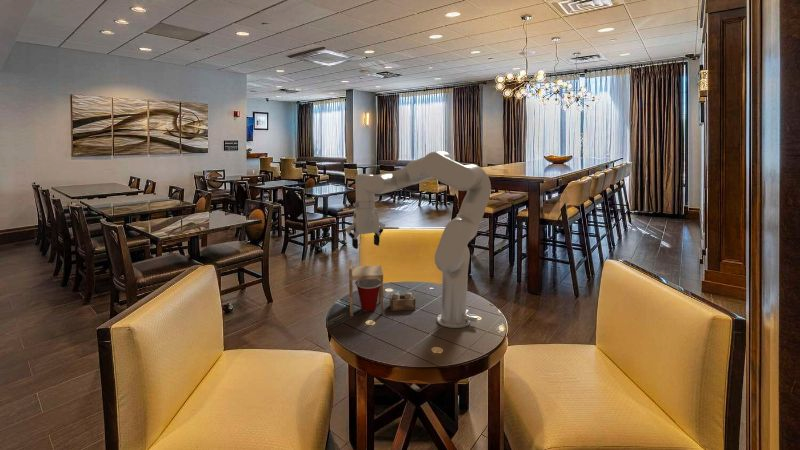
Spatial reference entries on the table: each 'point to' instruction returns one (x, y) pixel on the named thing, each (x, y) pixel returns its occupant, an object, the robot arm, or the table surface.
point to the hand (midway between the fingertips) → (366, 246)
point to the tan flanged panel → (365, 273)
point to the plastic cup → (368, 293)
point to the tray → (402, 302)
